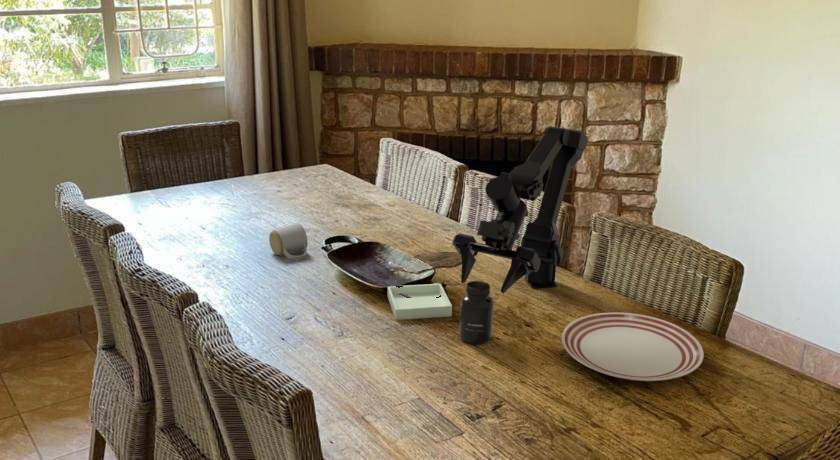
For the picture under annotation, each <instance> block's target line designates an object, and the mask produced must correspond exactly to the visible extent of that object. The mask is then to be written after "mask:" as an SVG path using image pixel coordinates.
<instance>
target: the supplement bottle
mask: <svg viewBox="0 0 840 460" xmlns="http://www.w3.org/2000/svg"><path fill="white" fill-rule="evenodd" d="M490 295H491V286H490V284H489V283H488V282H485V281H483V280H482V281H480V280H472V281H469V282H468V283H466V289H465V295H463V296H462V297H461V299H460V307H459V309H460V310H459V311H460V312H459V329H458V332H459V333H458V336H459V338H460V339H461V341H463V342H465V343H467V344H470V345H483V344H487V343H488V342H490V341H491V339H492V333H493V319H494V318H493V317H494V306H495V305H494V303H495V301H494V300H493V297H492V296H490Z"/></svg>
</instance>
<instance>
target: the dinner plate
mask: <svg viewBox="0 0 840 460" xmlns="http://www.w3.org/2000/svg"><path fill="white" fill-rule="evenodd" d="M561 343H562V346H563V347H564V349H565V351H566V352H567V353H568V355H570V356H571V357H572V358H573V359H574V360H575V361H577V362H579V364H581V365H583V366H585V367H587V368H589V369H591V370H594V371H596V372H598V373H601V374H604V375H607V376H611V377H615V378H619V379H625V380H630V381H638V382H639V381H640V382H642V381H643V382H654V381H656V382H658V381H660V382H661V381H667V380H673V379H674V380H675V379H677V378H681V377H684V376H687V375H689V374H690V373H692V372H694V371H696V370H697V369H698V368H699V367H700V366H701V364H702V363H703V361H704V355H705V353H704V349H703V347H702V345H701V343H700V342H699V340H698V339H697V338H696V337H695V336H694V335H693V334H691V333H690V332H689V331H687V330H686V329H683V328H682V327H681V326H678V325H676V324H674V323H671V322H670V321H667V320H664V319H661V318H657V317H653V316H649V315H644V314H640V313H639V314H638V313H630V312H600V313H594V314H589V315H584V316H582V317H580V318H577V319H575V320H573V321H571V322H570V323H569V324H568V325H566V327H565V328H564V329H563V331H562V335H561Z"/></svg>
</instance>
